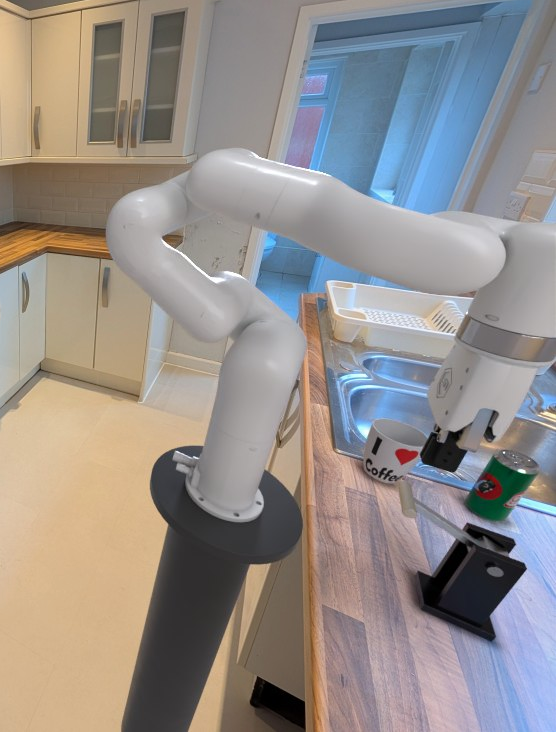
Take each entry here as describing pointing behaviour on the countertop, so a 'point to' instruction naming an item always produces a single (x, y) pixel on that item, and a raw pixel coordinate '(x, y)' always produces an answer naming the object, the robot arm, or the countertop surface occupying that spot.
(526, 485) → the soda can
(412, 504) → the tap lever
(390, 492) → the countertop surface
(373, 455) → the cup
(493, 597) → the bracket
